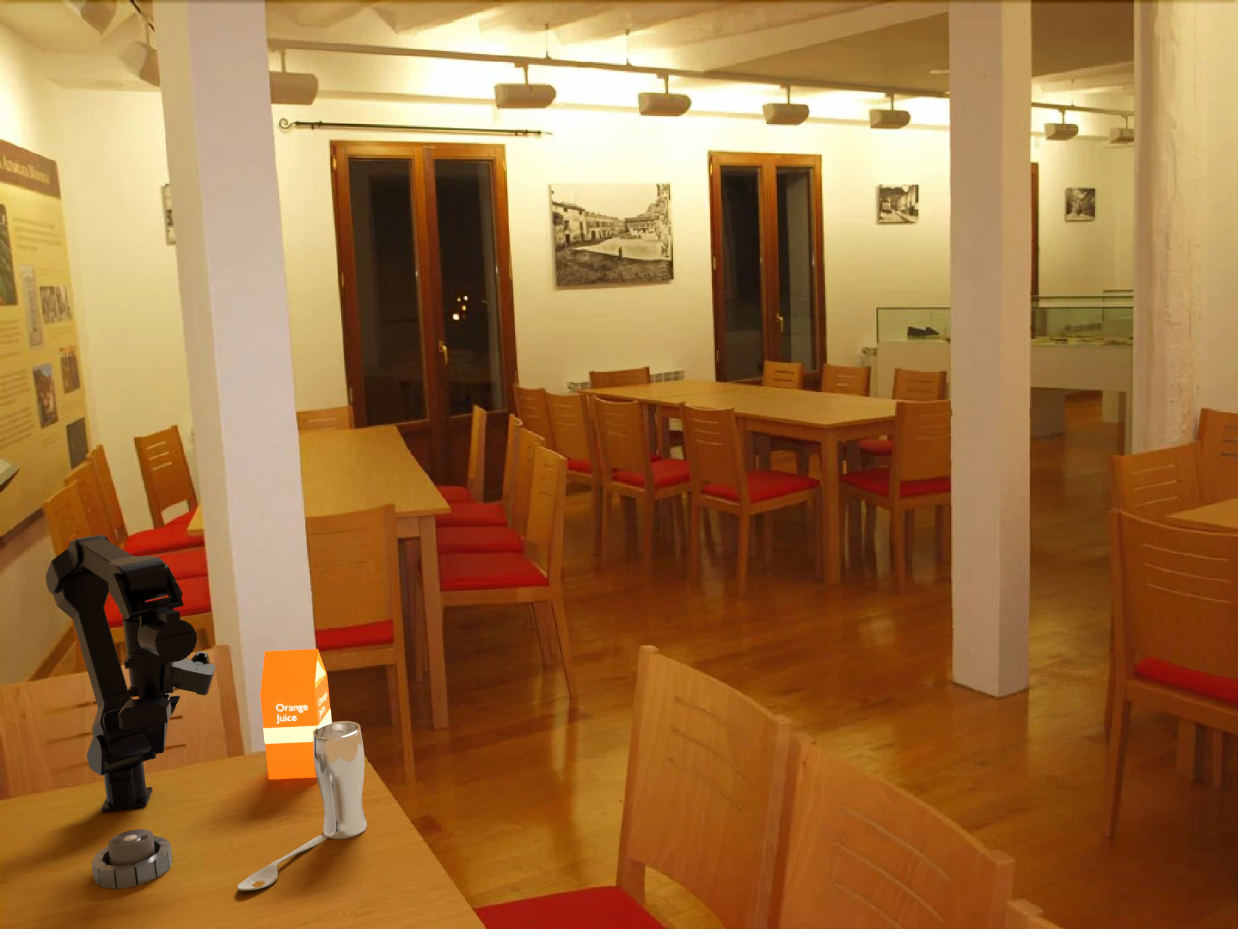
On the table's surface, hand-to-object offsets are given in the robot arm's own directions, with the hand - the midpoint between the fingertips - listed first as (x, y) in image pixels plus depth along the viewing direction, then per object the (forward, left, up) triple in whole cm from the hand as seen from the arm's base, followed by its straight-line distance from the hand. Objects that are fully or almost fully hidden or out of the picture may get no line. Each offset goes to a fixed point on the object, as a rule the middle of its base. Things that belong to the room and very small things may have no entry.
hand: (160, 752), depth 166 cm
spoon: (+15, +18, -13) cm, 26 cm away
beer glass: (+8, +25, -12) cm, 29 cm away
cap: (+11, -3, -12) cm, 16 cm away
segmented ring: (+11, -3, -12) cm, 17 cm away
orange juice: (-17, +18, -12) cm, 28 cm away
